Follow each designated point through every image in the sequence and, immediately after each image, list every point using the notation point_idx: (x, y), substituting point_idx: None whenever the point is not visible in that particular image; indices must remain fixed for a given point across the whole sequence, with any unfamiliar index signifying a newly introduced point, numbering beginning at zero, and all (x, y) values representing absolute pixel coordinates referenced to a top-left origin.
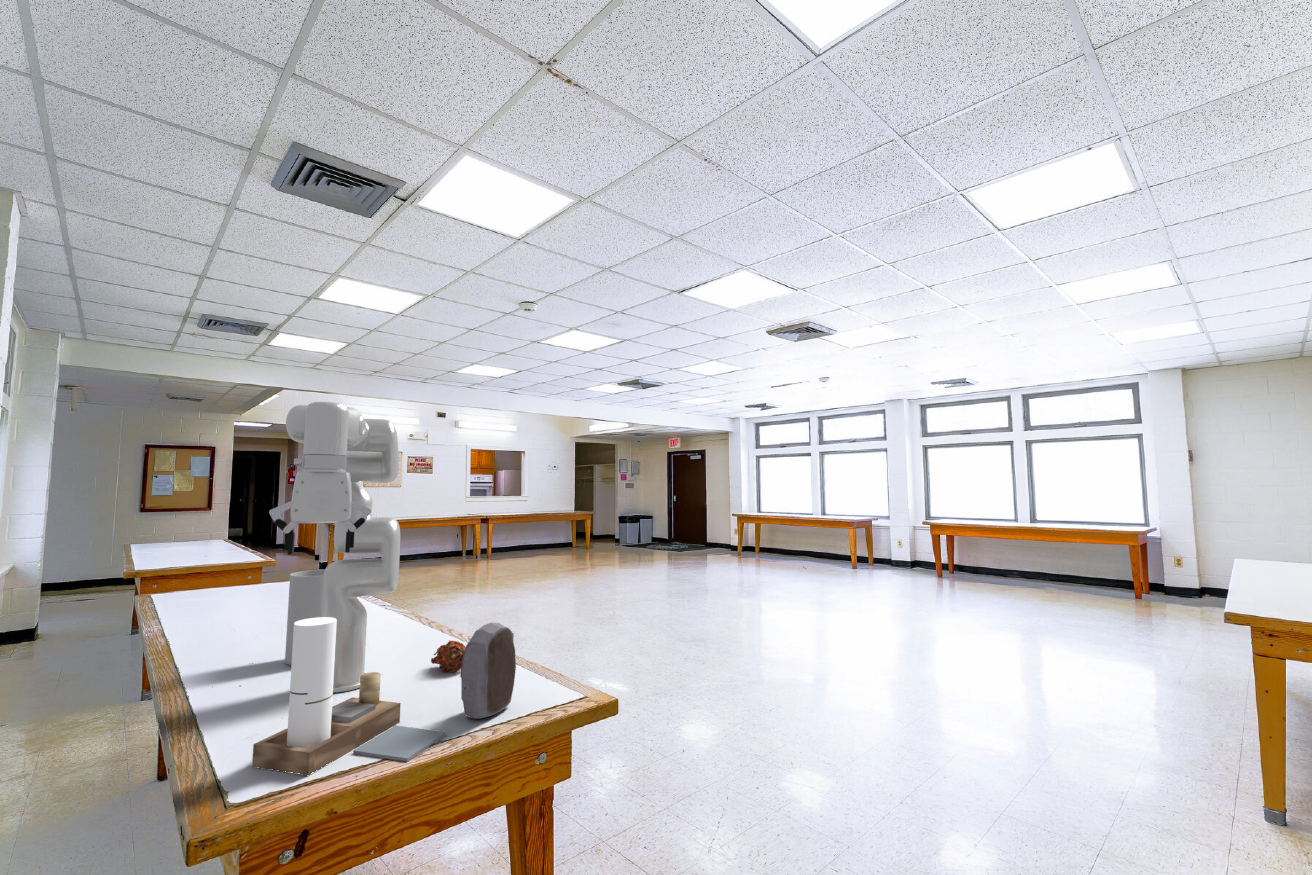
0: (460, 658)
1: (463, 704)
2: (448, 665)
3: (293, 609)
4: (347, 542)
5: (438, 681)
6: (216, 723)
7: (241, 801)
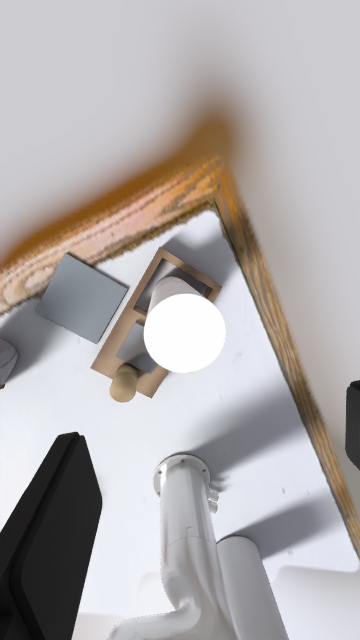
0: None
1: (14, 357)
2: None
3: (279, 628)
4: (46, 480)
5: None
6: (277, 396)
7: (205, 211)
